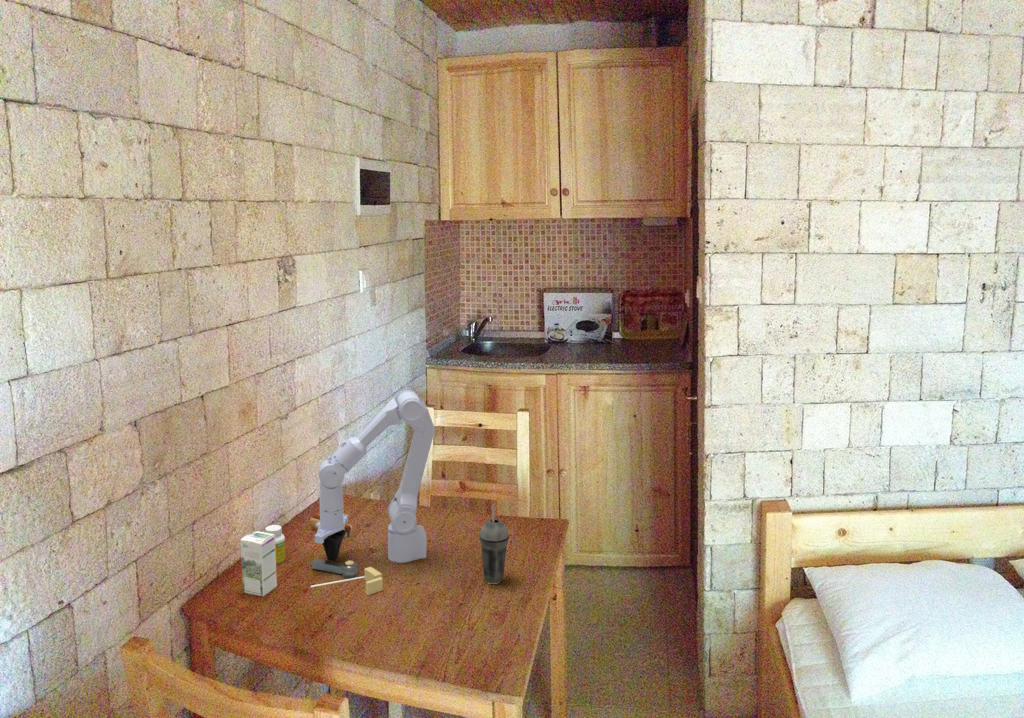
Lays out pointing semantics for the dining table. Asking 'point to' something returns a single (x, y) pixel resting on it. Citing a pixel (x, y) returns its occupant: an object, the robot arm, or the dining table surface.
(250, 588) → the syrup box
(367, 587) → the board
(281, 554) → the supplement bottle
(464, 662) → the dining table surface
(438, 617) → the dining table surface
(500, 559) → the beverage cup
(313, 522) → the food
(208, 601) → the dining table surface
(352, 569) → the latch bar
